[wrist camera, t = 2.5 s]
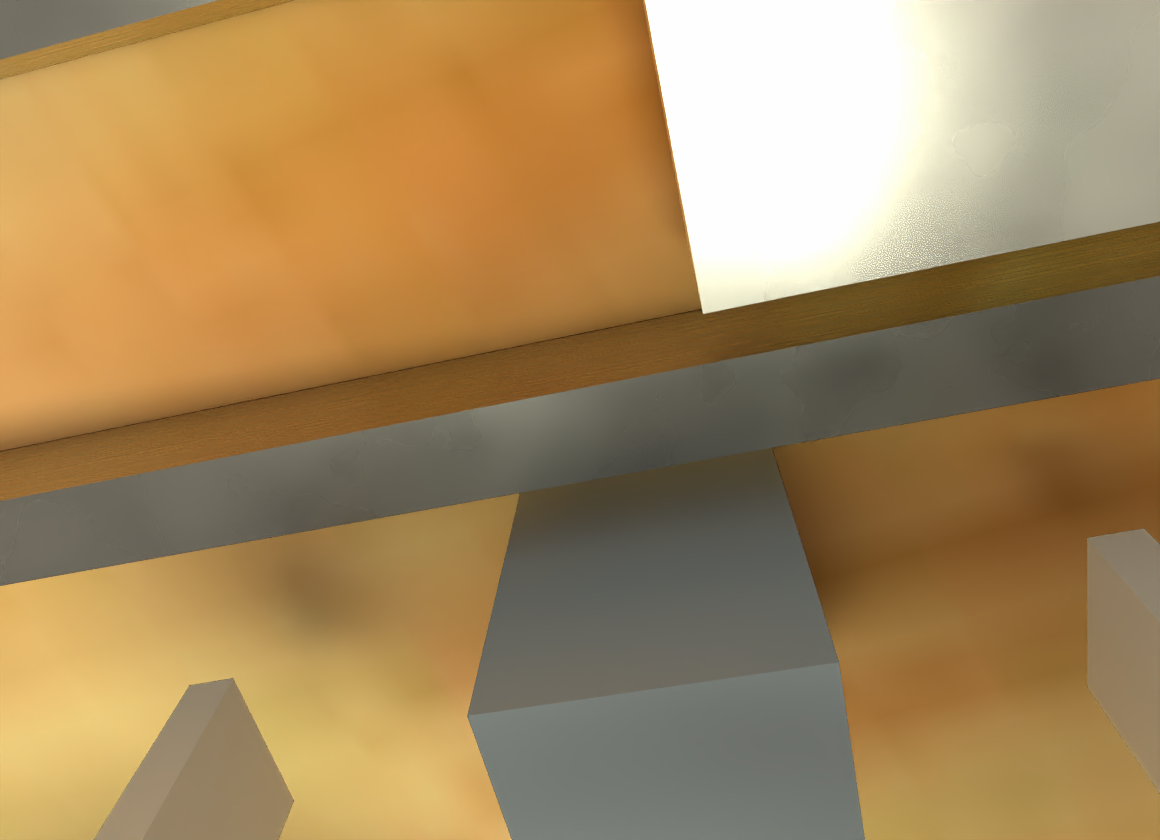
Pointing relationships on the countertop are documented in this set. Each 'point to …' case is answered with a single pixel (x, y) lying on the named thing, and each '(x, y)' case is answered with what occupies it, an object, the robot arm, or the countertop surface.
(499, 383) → the channel
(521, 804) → the block
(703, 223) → the silver metal slider block
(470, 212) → the countertop surface
